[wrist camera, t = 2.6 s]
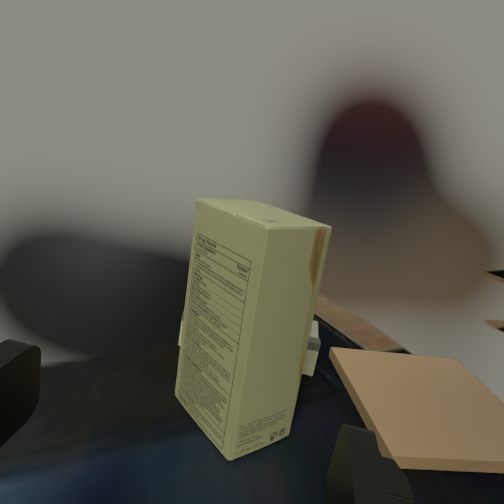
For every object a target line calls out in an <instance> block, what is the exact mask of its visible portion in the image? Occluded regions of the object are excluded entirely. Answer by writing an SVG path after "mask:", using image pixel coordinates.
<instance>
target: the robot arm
mask: <svg viewBox="0 0 504 504" xmlns="http://www.w3.org/2000/svg"><path fill="white" fill-rule="evenodd" d="M40 366H41V351H40V348H39V347H38V346H35V345H31V344H27V343H23V342H19V341H15V340H11V339H8V340H5V341H3V342H2V343H0V447H1V446H2V445H3V444H4V443H5V442H6V441H7V440H8V439H9V438H10V437H11V436H12V435H13V434H14V433H15V432H16V431H18V430H19V429H20V428H21V427H22V426H23V425H24V424H25V423H26V422H27V421H28V420H29V418H30V417H31V416H32V414H33V412H34V410H35V408H36V406H37V403H38V400H39V389H40ZM324 504H414V498H413V495H412V491H411V488H410V485H409V481H408V478H407V477H406V476H405V474H404V473H403V471H402V470H401V469H400V467H399V466H398V464H397V463H396V461H395V460H394V459H391V458H387V457H383V456H380V453H379V448H378V444H377V439H376V435H375V432H374V431H371V430H367V429H363V428H359V427H355V426H351V425H347V424H343V425H342V426H341V428H340V431H339V435H338V438H337V442H336V445H335V448H334V452H333V455H332V459H331V462H330V466H329V469H328V473H327V477H326V482H325V490H324Z"/></svg>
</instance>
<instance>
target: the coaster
mask: <svg viewBox="0 0 504 504" xmlns="http://www.w3.org/2000/svg"><path fill="white" fill-rule="evenodd" d="M329 358H330V360H331V361H332V363H333V365H334V367H335V369H336V371H337V373H338V375H339V376H340V378H341V380H342V382H343V384H344V386H345V388H346V390H347V391H348V393H349V395H350V397H351V399H352V401H353V403H354V404H355V406H356V408H357V410H358V412H359V414H360V416H361V418H362V419H363V421H364V423H365V425H366V427H367V429H368V430H371V431H374V432H375V435H376V439H377V444H378V448H379V451H380V453H381V455H382V456H383V457H387V458H391V459H394V460H395V461H396V463H397V464H398V466H399V467H400V469H422V470H444V471H466V472H487V473H504V403H503V402H502V401H501V400H500V399H499V398H498V397H497V396H495V395H494V394H493V393H492V392H491V391H490V390H489V389H488V388H487V387H486V386H485V385H484V384H483V383H482V382H480V380H478V379H477V378H476V377H475V376H474V375H473V374H472V373H471V372H470V371H469V370H468V369H467V368H466V367H465V366H464V365H462V364H461V363H460V362H459V361H458V360H457V359H451V358H442V357H431V356H420V355H410V354H399V353H389V352H378V351H368V350H357V349H346V348H336V347H331V348H330V352H329Z"/></svg>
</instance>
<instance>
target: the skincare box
mask: <svg viewBox="0 0 504 504" xmlns="http://www.w3.org/2000/svg"><path fill="white" fill-rule="evenodd" d="M331 230H332V227H331V226H328V225H325V224H322V223H319V222H316V221H313V220H310V219H308V218H305V217H302V216H298V215H296V214H293V213H290V212H287V211H284V210H282V209H278V208H276V207H273V206H270V205H267V204H264V203H262V202H259V201H249V200H233V199H213V198H202V199H197V204H196V212H195V221H194V230H193V239H192V248H191V257H190V266H189V274H188V283H187V292H186V301H185V309H184V319H183V327H182V336H181V345H180V353H179V362H178V371H177V380H176V388H175V396H176V397H177V399H178V400H179V401H180V403H181V404H182V405H183V407H184V408H185V409H186V411H187V412H188V413H189V414H190V416H191V417H192V418H193V419H194V421H195V422H196V423H197V424H198V426H199V427H200V428H201V429H202V431H203V432H204V433H205V434H206V435H207V437H208V438H209V439H210V440H211V441H212V442H213V444H214V445H215V446H216V447H217V448H218V449H219V451H220V452H221V453H222V454H223V455H224V457H225V458H226V459H227V460H229V461H231V460H234V459H236V458H239V457H241V456H244V455H246V454H249V453H251V452H253V451H256V450H258V449H261V448H263V447H265V446H267V445H270V444H272V443H274V442H276V441H278V440H280V439H282V438H284V437H286V436H288V435H289V433H290V428H291V423H292V418H293V414H294V409H295V404H296V400H297V395H298V390H299V385H300V380H301V375H302V370H303V365H304V360H305V355H306V351H307V346H308V341H309V337H310V332H311V327H312V322H313V317H314V312H315V308H316V302H317V297H318V293H319V288H320V283H321V277H322V273H323V268H324V263H325V258H326V254H327V248H328V244H329V239H330V234H331Z"/></svg>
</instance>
